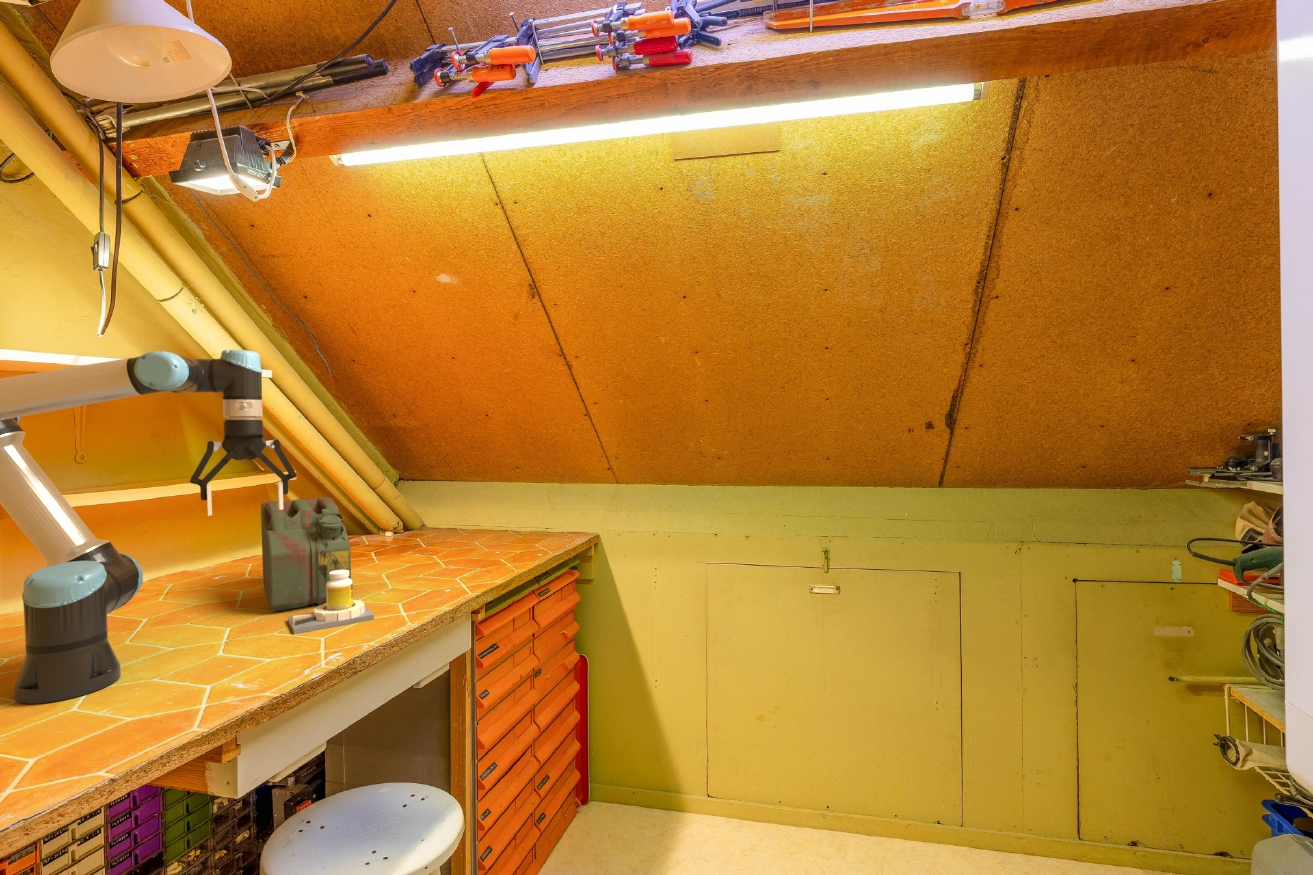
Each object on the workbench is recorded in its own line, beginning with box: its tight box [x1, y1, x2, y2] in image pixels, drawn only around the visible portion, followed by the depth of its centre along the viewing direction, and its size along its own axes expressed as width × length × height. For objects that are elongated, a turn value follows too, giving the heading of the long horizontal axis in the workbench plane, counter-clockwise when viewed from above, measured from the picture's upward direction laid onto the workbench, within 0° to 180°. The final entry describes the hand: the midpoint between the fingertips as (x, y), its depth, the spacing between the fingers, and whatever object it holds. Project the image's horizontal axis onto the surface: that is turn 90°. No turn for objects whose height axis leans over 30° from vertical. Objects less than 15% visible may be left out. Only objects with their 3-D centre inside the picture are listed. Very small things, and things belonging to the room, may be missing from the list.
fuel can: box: [260, 496, 352, 612], centre depth 185 cm, size 19×35×27 cm, turn 35°
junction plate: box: [287, 599, 375, 635], centre depth 162 cm, size 18×12×3 cm, turn 127°
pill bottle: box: [326, 570, 354, 611], centre depth 163 cm, size 6×6×11 cm
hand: (246, 512), depth 143 cm, fingers open, 13 cm apart
